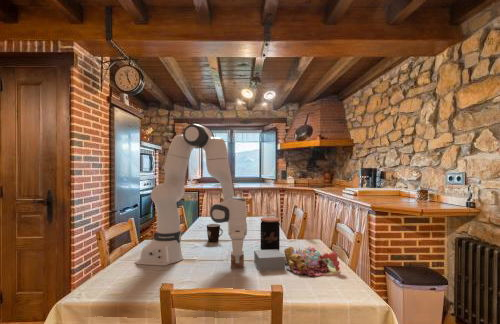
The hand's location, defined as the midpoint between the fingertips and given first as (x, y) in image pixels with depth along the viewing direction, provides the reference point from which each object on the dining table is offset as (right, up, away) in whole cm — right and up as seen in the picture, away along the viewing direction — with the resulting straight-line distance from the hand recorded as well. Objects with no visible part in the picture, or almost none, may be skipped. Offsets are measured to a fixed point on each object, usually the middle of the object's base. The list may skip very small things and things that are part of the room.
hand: (237, 260), depth 134 cm
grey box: (+15, -3, +1) cm, 15 cm away
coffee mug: (-17, -4, +42) cm, 46 cm away
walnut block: (0, -3, 0) cm, 3 cm away
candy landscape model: (+35, -3, -1) cm, 35 cm away
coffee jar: (+17, -3, +24) cm, 29 cm away
